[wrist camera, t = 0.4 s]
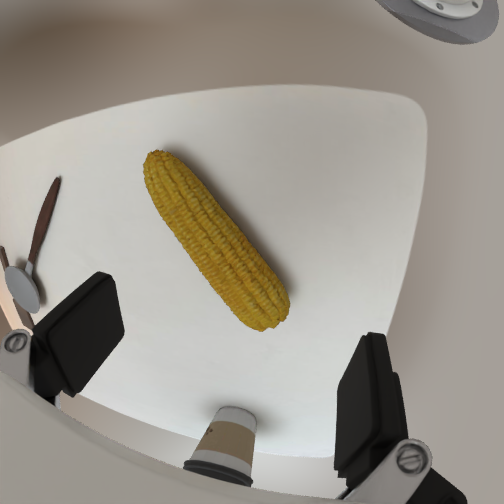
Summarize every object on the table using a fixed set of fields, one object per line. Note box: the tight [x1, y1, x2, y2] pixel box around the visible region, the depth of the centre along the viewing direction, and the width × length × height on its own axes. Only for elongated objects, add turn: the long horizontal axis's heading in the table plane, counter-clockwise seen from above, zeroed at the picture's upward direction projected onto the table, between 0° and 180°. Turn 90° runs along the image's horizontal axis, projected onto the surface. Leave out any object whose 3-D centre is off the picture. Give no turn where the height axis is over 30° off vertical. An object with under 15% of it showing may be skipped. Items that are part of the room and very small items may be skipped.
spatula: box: [0, 246, 35, 330], centre depth 47 cm, size 22×6×1 cm, turn 176°
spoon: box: [5, 177, 60, 313], centre depth 38 cm, size 11×33×3 cm, turn 137°
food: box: [143, 150, 290, 332], centre depth 27 cm, size 21×6×6 cm, turn 39°
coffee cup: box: [183, 407, 256, 487], centre depth 39 cm, size 11×11×15 cm
